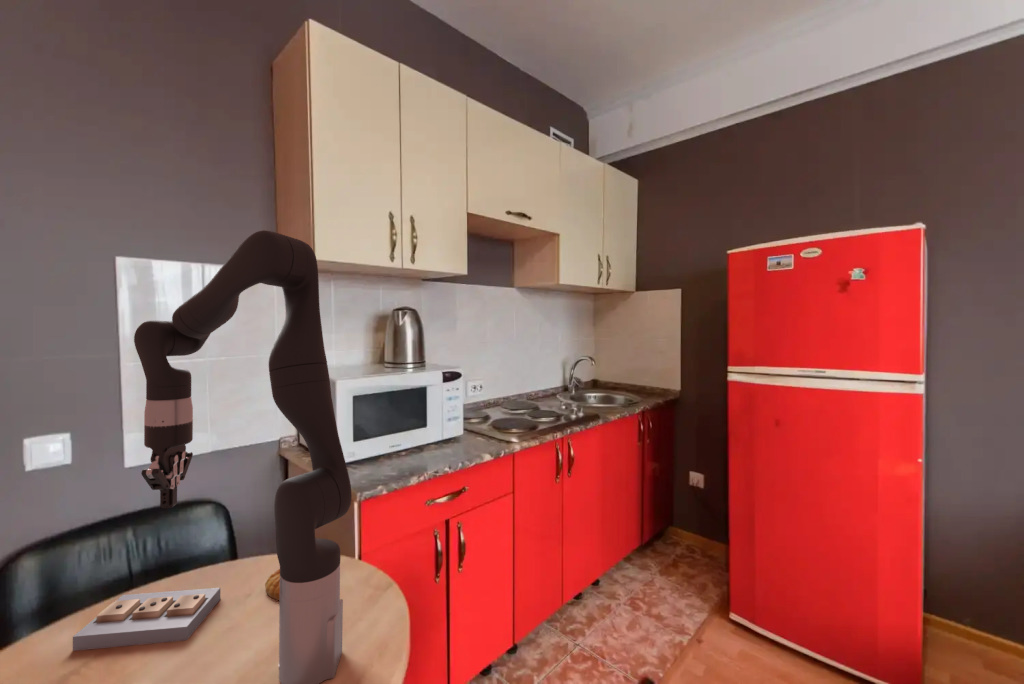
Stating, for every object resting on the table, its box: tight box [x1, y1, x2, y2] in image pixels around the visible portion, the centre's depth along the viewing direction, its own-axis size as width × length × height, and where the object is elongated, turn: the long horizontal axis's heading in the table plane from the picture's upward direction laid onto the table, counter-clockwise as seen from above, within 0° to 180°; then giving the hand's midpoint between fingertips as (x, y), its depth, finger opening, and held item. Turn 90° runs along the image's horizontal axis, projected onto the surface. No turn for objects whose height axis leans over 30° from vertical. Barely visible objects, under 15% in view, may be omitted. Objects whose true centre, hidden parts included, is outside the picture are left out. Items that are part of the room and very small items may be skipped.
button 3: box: [132, 596, 173, 620], centre depth 81 cm, size 4×4×3 cm
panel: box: [72, 587, 221, 651], centre depth 82 cm, size 18×12×2 cm, turn 100°
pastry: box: [264, 568, 280, 602], centre depth 92 cm, size 9×7×4 cm
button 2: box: [167, 594, 205, 617], centre depth 82 cm, size 4×4×3 cm
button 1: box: [96, 599, 140, 623], centre depth 80 cm, size 4×4×3 cm
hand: (168, 506), depth 85 cm, fingers closed
